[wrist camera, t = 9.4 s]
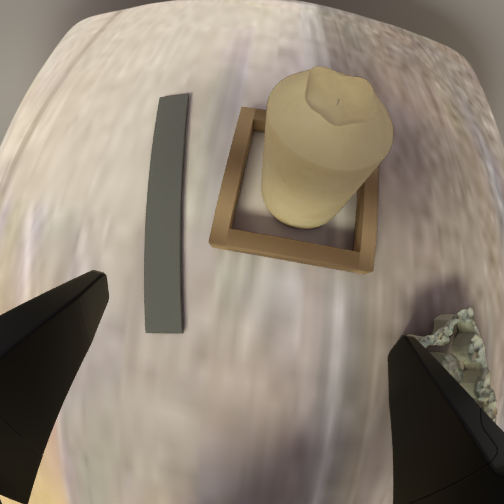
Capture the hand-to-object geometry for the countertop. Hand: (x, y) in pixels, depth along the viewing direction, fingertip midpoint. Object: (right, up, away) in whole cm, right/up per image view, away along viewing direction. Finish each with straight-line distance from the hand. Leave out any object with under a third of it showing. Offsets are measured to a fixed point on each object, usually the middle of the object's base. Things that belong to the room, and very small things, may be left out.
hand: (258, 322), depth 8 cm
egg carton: (+13, -8, +9) cm, 18 cm away
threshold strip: (-6, +6, +11) cm, 14 cm away
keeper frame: (+3, +6, +11) cm, 13 cm away
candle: (+3, +6, +11) cm, 13 cm away
